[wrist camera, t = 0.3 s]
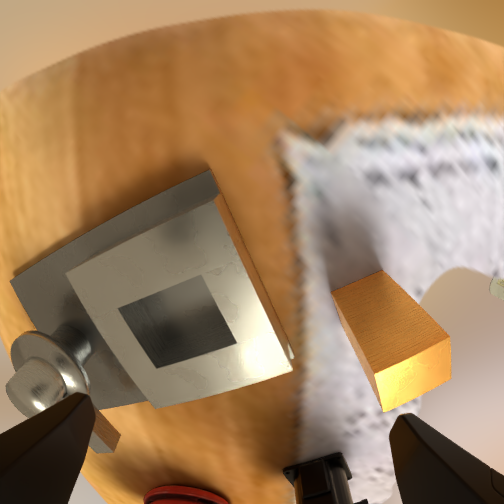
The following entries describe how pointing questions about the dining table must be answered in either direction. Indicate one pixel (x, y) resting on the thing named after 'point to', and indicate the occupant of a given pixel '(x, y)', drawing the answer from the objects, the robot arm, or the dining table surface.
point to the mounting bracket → (497, 287)
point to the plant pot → (181, 496)
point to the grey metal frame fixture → (147, 312)
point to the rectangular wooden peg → (393, 339)
